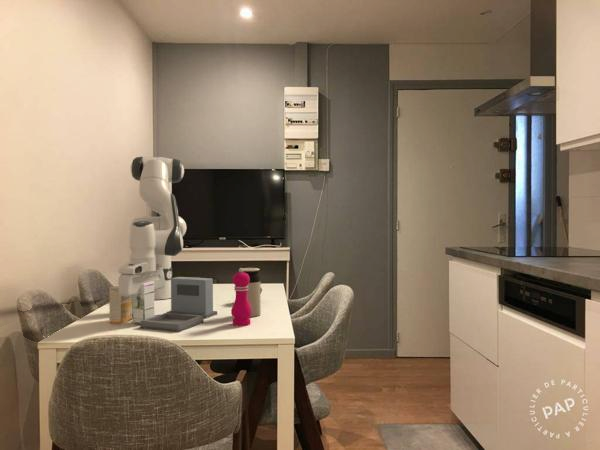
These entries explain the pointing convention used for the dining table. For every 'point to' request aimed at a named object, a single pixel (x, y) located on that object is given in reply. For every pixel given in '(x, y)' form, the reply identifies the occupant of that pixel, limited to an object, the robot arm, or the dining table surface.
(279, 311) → the dining table surface
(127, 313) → the supplement box
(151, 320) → the parts tray
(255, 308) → the travel mug
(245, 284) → the red pepper mill
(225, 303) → the dining table surface
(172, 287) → the control unit
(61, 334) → the dining table surface
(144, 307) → the syrup box
